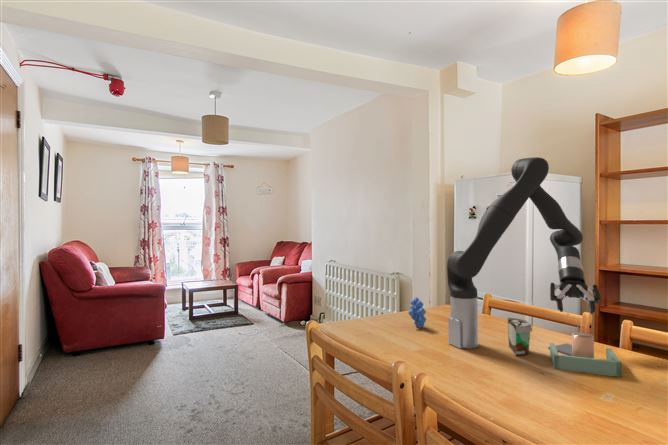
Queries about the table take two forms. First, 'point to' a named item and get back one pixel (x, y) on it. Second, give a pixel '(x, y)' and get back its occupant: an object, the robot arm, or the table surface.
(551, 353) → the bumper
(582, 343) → the brown cylinder
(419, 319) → the grapes
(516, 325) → the food container
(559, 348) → the mat
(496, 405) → the table surface
